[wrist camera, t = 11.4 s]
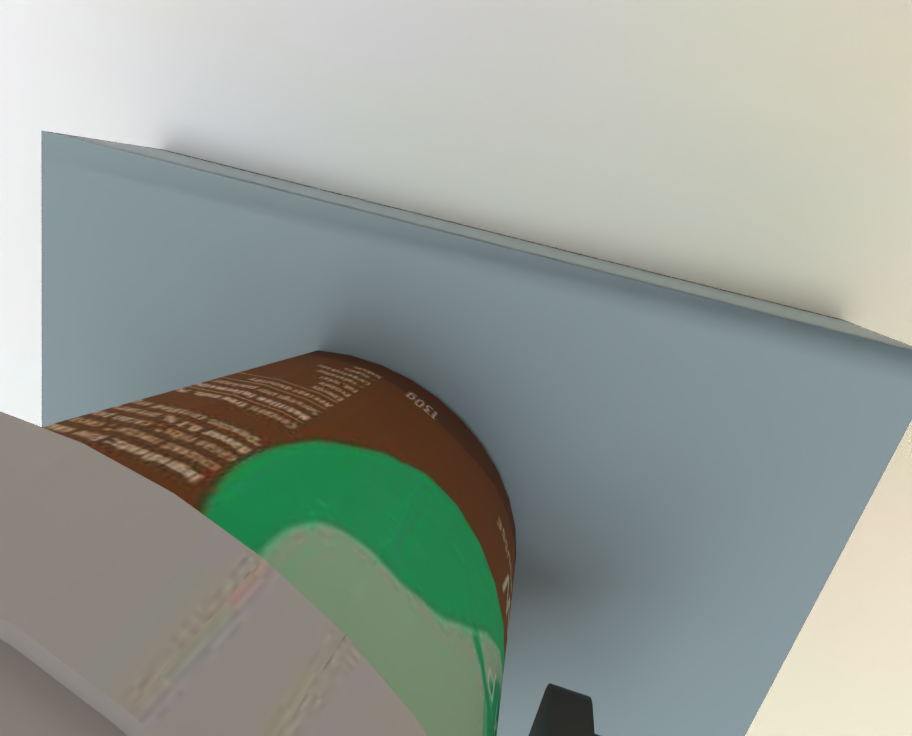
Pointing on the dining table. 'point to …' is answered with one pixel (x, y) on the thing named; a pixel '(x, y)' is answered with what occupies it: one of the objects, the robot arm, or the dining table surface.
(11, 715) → the food container
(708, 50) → the dining table surface
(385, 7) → the dining table surface
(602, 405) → the book
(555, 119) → the dining table surface
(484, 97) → the dining table surface
